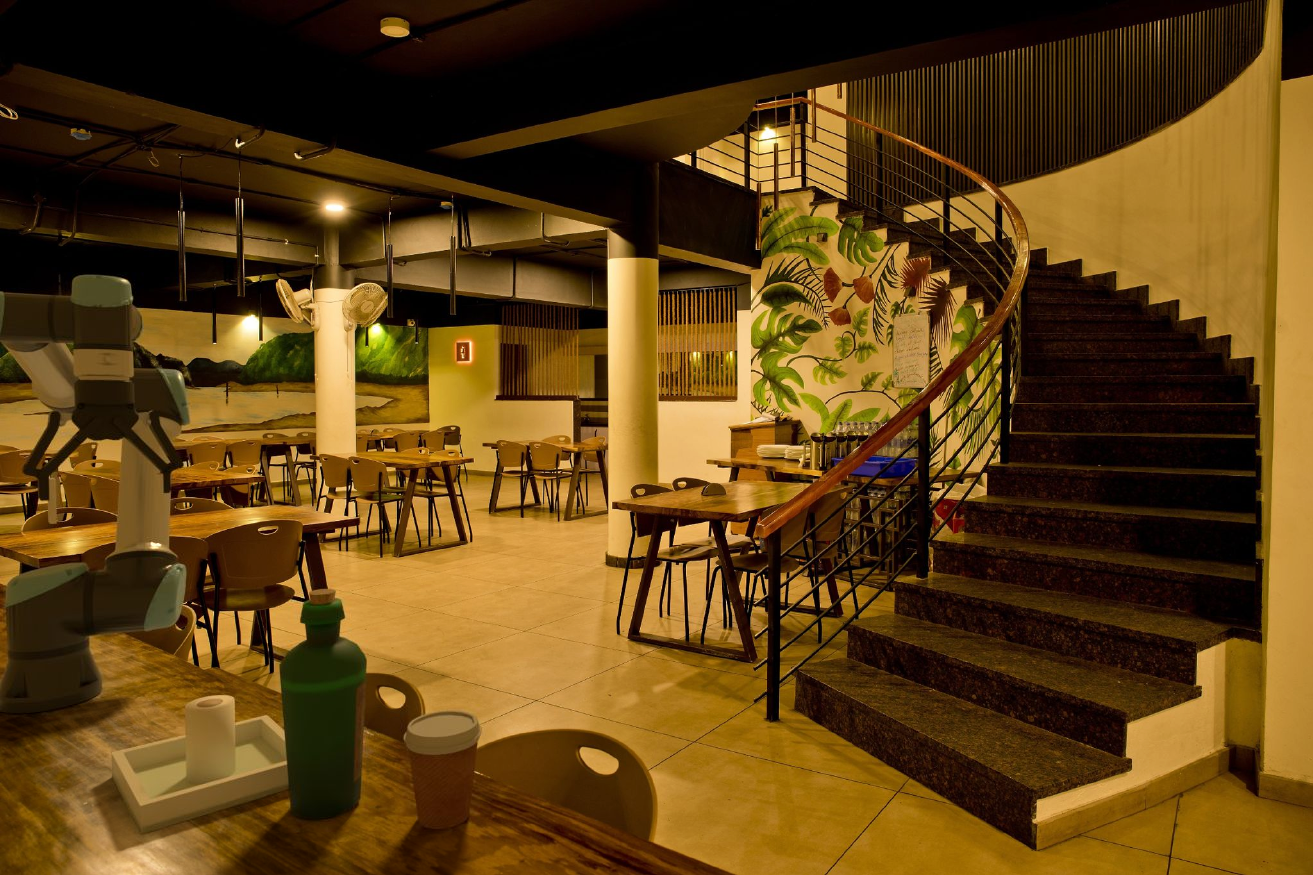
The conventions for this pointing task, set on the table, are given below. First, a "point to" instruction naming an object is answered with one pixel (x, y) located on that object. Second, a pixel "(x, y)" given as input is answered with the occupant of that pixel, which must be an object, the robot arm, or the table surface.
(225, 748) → the kitchen roll
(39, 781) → the table surface
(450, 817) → the disposable coffee cup
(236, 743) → the rectangular tray
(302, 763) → the bottle
